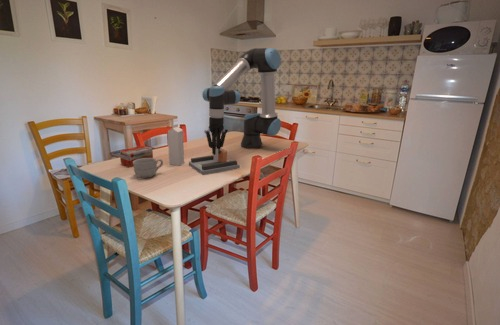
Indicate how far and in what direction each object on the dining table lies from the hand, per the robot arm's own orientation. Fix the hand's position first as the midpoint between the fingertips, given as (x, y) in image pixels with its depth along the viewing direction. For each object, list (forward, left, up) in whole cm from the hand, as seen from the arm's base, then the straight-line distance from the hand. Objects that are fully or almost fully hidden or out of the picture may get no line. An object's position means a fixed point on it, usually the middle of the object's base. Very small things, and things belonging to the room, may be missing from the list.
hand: (215, 159), depth 155 cm
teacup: (+35, -3, -4) cm, 36 cm away
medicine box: (+35, -25, -4) cm, 44 cm away
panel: (+1, 0, -4) cm, 4 cm away
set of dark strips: (+1, 0, -2) cm, 2 cm away
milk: (+17, -14, -4) cm, 22 cm away
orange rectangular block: (-4, 0, -2) cm, 4 cm away
